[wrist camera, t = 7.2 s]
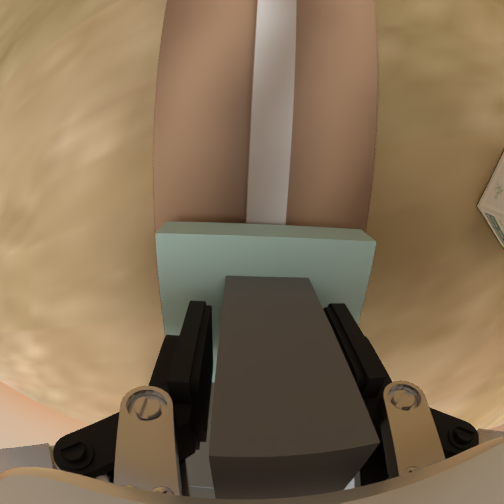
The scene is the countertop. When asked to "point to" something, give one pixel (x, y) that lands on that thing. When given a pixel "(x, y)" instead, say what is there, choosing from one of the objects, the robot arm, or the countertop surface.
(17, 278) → the countertop surface
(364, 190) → the rail bed
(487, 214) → the syrup box
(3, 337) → the countertop surface
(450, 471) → the robot arm
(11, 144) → the countertop surface
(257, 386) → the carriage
